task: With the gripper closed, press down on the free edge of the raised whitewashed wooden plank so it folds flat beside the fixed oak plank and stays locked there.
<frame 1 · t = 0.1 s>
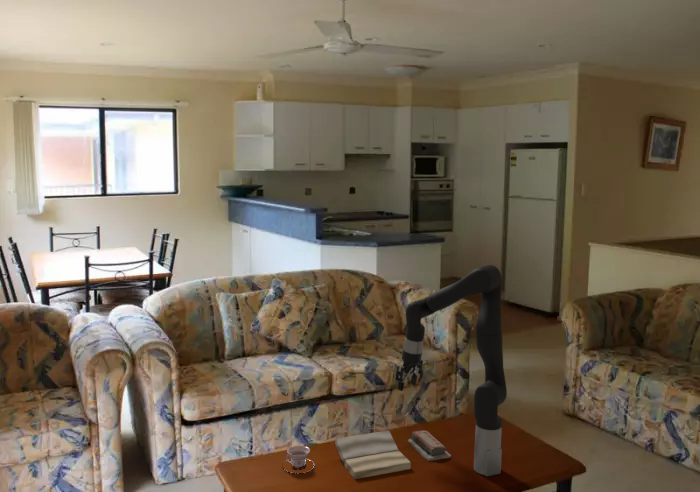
hand: (406, 387, 265), 22 cm above the table, tool pointing down, fingers open, 8 cm apart
oak plank: (377, 467, 246), on the table
packaged product: (428, 450, 262), on the table
teacup: (298, 467, 246), on the table
whitewashed plank: (366, 446, 255), point 4 cm above the table, hinge at 25.0°
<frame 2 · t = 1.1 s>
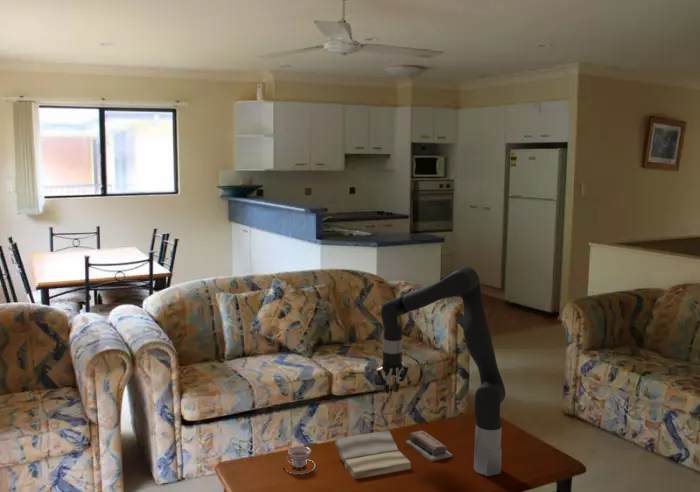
hand: (391, 392, 263), 21 cm above the table, tool pointing down, fingers open, 3 cm apart
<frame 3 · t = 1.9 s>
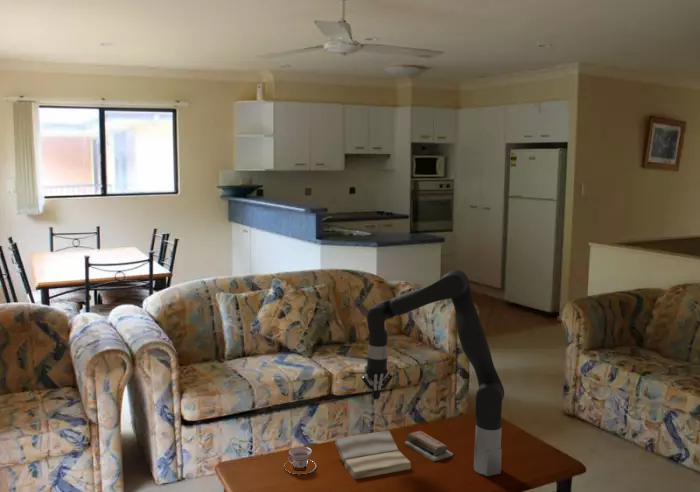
hand: (375, 398, 259), 20 cm above the table, tool pointing down, fingers closed
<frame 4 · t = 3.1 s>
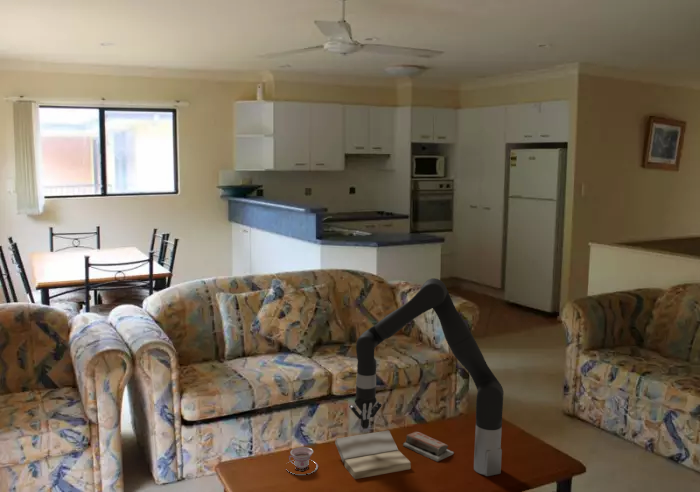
hand: (364, 427, 256), 10 cm above the table, tool pointing down, fingers closed
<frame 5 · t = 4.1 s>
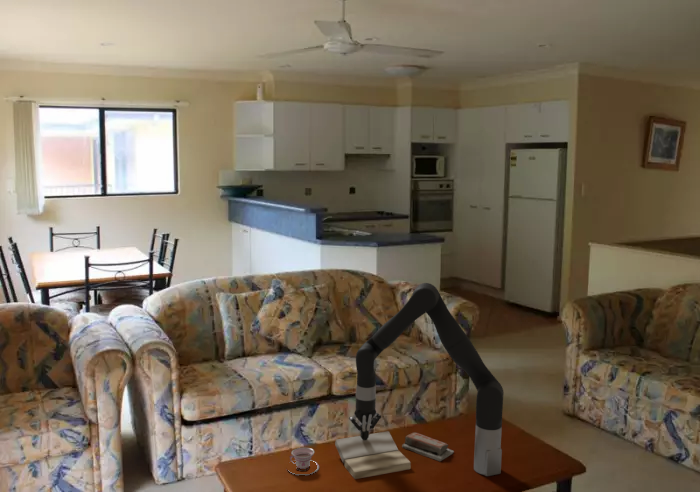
hand: (364, 439, 257), 6 cm above the table, tool pointing down, fingers closed
whitewashed plank: (366, 446, 255), point 3 cm above the table, hinge at 21.9°, touching gripper
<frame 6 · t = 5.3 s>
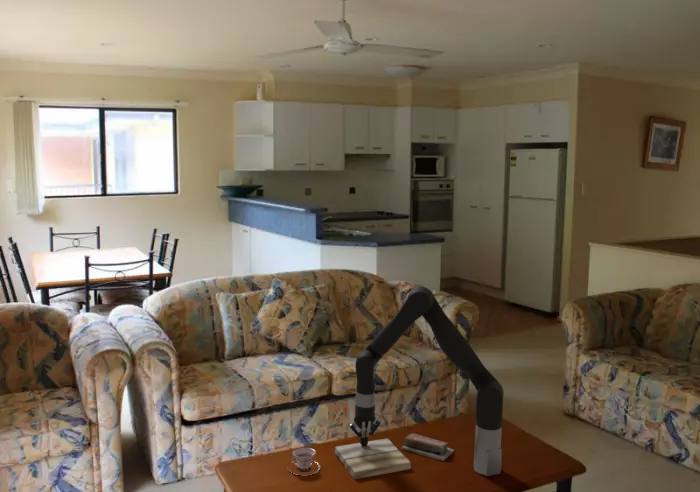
hand: (363, 445, 258), 3 cm above the table, tool pointing down, fingers closed
whitewashed plank: (366, 451, 256), point 2 cm above the table, hinge at 2.9°, touching gripper
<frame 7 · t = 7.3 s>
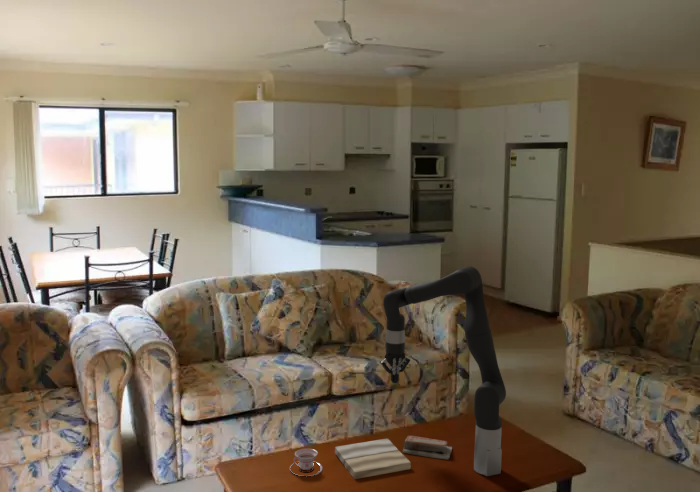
hand: (394, 382, 266), 24 cm above the table, tool pointing down, fingers closed
whitewashed plank: (366, 451, 256), point 2 cm above the table, hinge at 2.8°
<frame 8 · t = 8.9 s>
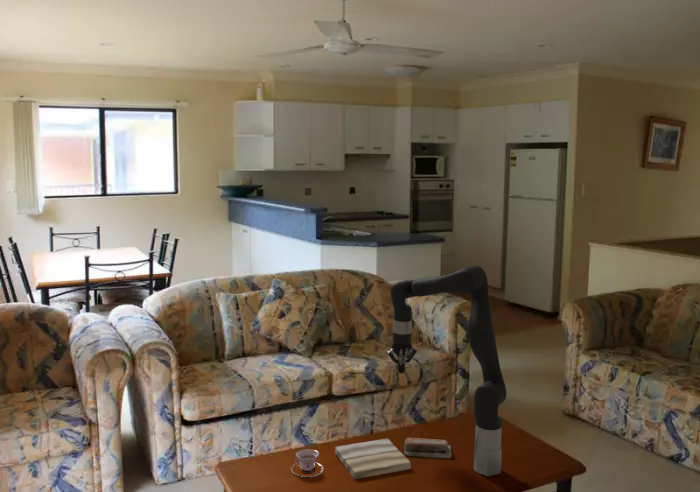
hand: (401, 372, 268), 27 cm above the table, tool pointing down, fingers closed
at the end: whitewashed plank at +3° (first picture: +25°); packaged product moved 2.1 cm from its start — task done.
